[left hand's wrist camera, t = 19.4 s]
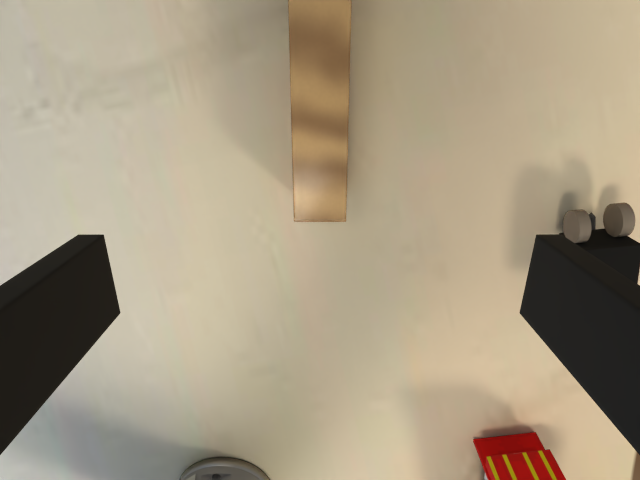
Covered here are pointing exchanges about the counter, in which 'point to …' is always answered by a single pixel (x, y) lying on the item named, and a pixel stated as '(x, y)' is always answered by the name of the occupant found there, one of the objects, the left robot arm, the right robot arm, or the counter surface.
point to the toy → (517, 458)
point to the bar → (319, 107)
